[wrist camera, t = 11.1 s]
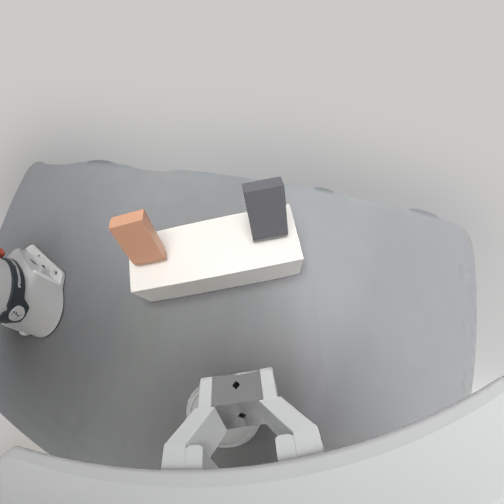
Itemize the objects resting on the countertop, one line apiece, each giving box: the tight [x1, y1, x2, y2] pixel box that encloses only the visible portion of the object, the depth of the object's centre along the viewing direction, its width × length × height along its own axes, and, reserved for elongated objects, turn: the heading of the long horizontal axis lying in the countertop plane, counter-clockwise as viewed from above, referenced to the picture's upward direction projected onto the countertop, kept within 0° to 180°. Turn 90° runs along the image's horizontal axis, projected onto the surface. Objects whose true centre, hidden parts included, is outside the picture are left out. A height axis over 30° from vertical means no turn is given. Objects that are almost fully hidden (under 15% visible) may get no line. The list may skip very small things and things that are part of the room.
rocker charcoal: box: [242, 177, 288, 242], centre depth 39 cm, size 2×5×9 cm, turn 100°
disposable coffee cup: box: [186, 386, 260, 448], centre depth 37 cm, size 10×10×12 cm
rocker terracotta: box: [109, 209, 167, 266], centre depth 39 cm, size 2×5×9 cm, turn 100°
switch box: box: [129, 204, 304, 302], centre depth 47 cm, size 9×26×8 cm, turn 100°
